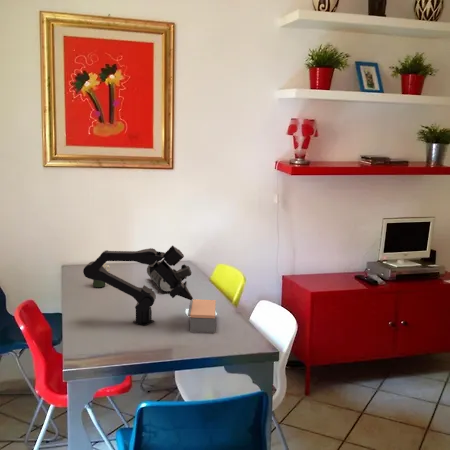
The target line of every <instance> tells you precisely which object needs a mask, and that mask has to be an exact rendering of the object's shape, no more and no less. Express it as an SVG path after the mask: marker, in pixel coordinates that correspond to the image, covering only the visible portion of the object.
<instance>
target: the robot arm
mask: <svg viewBox="0 0 450 450" xmlns="http://www.w3.org/2000/svg"><path fill="white" fill-rule="evenodd" d="M183 258H185V256H184V254H183V252H182V251H181V250H180V249H178V248H177V247H176V246H174V245H171V246H170V247H169V248H168V249H167V251H165V252H162V251H157V250H156V249H155V248H152V247H150V248H145V249H141V250H134V251H133V250H125V251H124V250H104V251H102V252H101V254H100V256H98V257H97V258H96V259H95V260H94V261H90V262H89V263H87V264H86V265H85V266H84V268H83V270H82V271H83V277H85V278H87V279H89V280H92V281H93V280H96V281H103V282H105V284H107V285H109V286H111V287H113V288H115V289H116V290H117V291H118V290H119V291H120V292H123V293H124V294H126V295H129V296H131V297H132V298H134V300H135V301H136V304H135V306H134V308H135V320H132V321H133V322H132V323H134V324H137V325H140V326H144V327H145V326H147V325H150V324H152V323H154V322H155V321H154V320H153V319H152V314H153V313H152V312H153V311H152V306H153V305H154V304H155V301H156V299H157V298H156V293H155V291H154V290H153V288H149V287H148V286H147V285H145V284H144V285H143V286H142V287H138V286H136V285H135V284H132V283H130V282H128V281H126V280H124V279H123V278H120V277H118V276H116V275H115V274H113V273H111V272H110V271H109V272H108V271H107V270H108V269H107V268H106V269H105V268H104V267H103V264H104V263H106V264H107V262H136V263H139V264H141V265H142V264H144V265H148V266H149V265H150V266H149V268H150V272H149V273H151V272H153V271H155V272H156V273H157V274H158V275H159V276H160V277H161V278H162V279H163V282H166V283H167V284H168V285H169V286H170V289H171V290H170V291H169V296H170V297H171V298H172V299H174V298H175V297H176V296H179V297H181V298H185V299H187V300H190V301H191V300H193V299H194V298H193V295H192V294H191V292H190V291H189V288H188V287H187V283H188V281H187V280H186V279H187V277H189V276H190V277H191V275H192V271H191V267H190V266H189V265H187V264H185V263H184V264H182V265H181V267H180V268H179V269H178V270H176V269H175V268H172V266H173V267H175V266H176V265H177V264H178V263H179V262H180V261H181V260H183ZM155 262H156V263H155ZM154 263H155V264H154ZM152 264H154V265H152ZM184 280H185V281H184Z"/></svg>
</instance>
